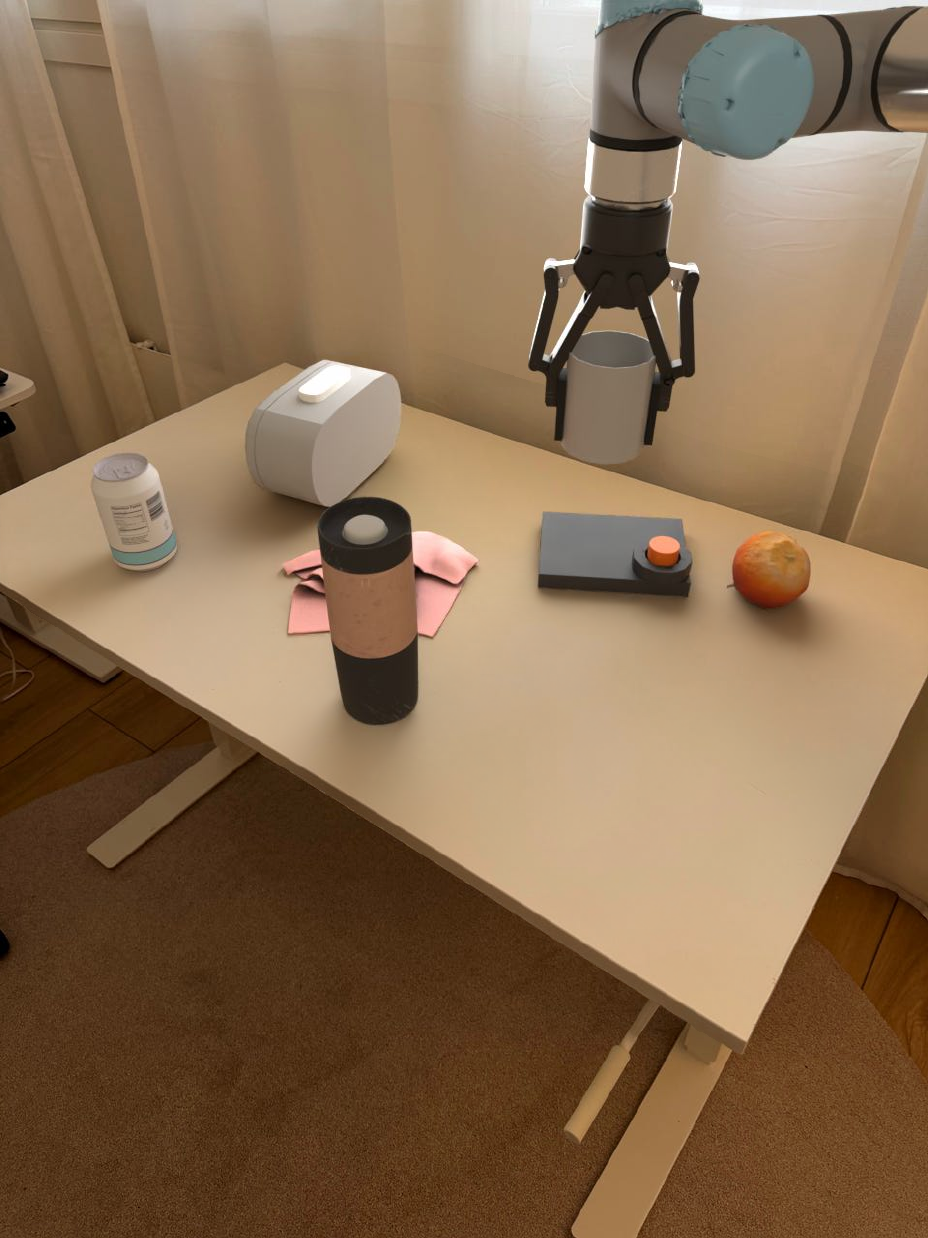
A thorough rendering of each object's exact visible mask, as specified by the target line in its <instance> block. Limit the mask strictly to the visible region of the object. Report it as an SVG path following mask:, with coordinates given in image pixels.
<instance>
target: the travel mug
mask: <svg viewBox="0 0 928 1238" xmlns="http://www.w3.org/2000/svg"><path fill="white" fill-rule="evenodd" d="M317 521H318V522H317V537H318V545H319V549H320V555H321V563H322V571H323V579H324V587H325V595H326V603H327V611H328V620H329V628H330V631H329V635H330V641H331V646H332V653H333V658H334V663H335V670H336V674H337V679H338V686H339V690H340V696H341V701H342V704H343V708H344V710H345V711H346V713H347V715H349V716H350V717H351V718H352V719H353V720H355V721H357V722H359V723H362V724H364V725H369V726H386V725H391V724H395V723H396V722H397V723H398V722H399V721H401V720H403V719H405V718H406V717H407V716H409V715H410V714H411V713H412V712H413V710H414V709H415V707H416V705H417V703H418V699H419V634H418V624H417V608H416V592H415V577H414V561H413V545H412V533H413V529H412V518H411V515H410V513H409V511H407V509H406V508H405V507H404V506H402V505H401V504H400V503H398V502H396V501H394V500H391V499H388V498H384V497H377V496H359V497H352V498H351V497H350V498H348V499H343V500H341V501H340V502H339V503H336V504H334V505H332V506H331V507H329V506H328V508H327V509H326V510H324V511H323V512H322V513H321V515H320V517H319V518H318V520H317Z"/></svg>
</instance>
